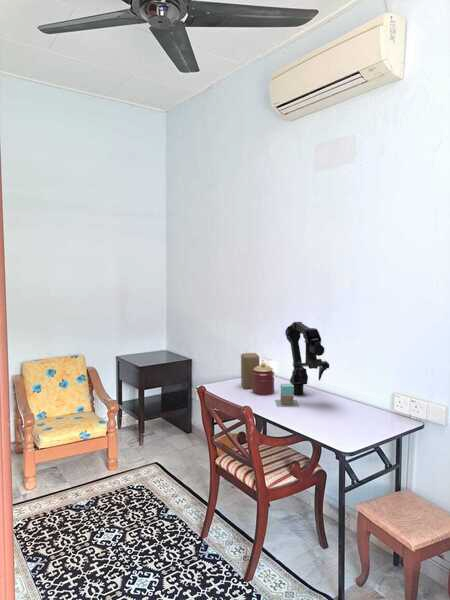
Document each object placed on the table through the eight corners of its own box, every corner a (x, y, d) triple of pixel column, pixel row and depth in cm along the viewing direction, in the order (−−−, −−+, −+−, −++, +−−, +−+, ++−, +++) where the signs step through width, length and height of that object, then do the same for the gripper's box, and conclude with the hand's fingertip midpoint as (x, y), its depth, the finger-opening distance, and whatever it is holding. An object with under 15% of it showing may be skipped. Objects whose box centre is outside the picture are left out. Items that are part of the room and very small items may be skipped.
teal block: (280, 392, 239) (280, 383, 238) (291, 392, 239) (291, 383, 238) (282, 395, 233) (282, 386, 233) (293, 395, 233) (293, 386, 232)
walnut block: (280, 401, 239) (280, 392, 239) (291, 401, 239) (291, 392, 239) (282, 405, 233) (282, 395, 233) (293, 404, 233) (293, 395, 233)
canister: (273, 389, 264) (273, 360, 262) (275, 396, 251) (275, 365, 249) (251, 389, 264) (251, 360, 263) (252, 396, 251) (252, 365, 250)
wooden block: (241, 384, 275) (240, 353, 273) (256, 383, 276) (256, 352, 274) (243, 389, 265) (243, 356, 263) (259, 388, 266) (259, 356, 264)
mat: (274, 400, 242) (274, 399, 242) (296, 400, 242) (296, 399, 242) (277, 407, 230) (277, 407, 230) (299, 407, 230) (299, 406, 230)
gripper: (295, 355, 227) (295, 384, 228) (331, 355, 227) (331, 384, 228) (292, 351, 238) (292, 379, 239) (327, 350, 238) (326, 378, 239)
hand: (310, 380), depth 236 cm, fingers open, 9 cm apart
